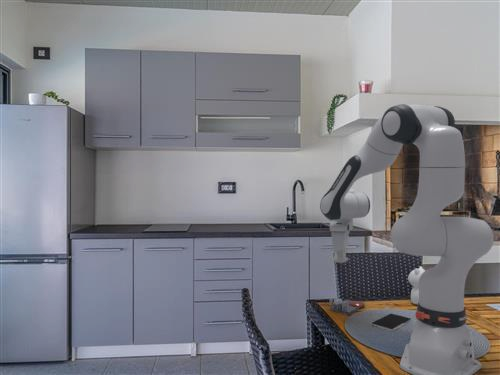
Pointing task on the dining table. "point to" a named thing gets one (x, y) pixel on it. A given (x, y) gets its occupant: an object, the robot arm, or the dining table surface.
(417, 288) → the cat figurine
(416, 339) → the robot arm
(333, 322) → the dining table surface
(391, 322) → the smartphone
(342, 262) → the cap
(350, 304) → the bayonet base
